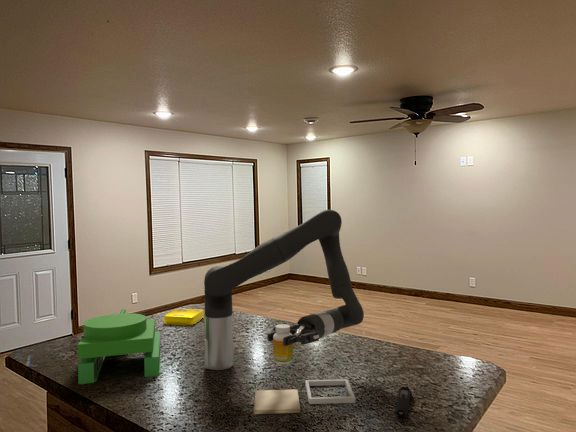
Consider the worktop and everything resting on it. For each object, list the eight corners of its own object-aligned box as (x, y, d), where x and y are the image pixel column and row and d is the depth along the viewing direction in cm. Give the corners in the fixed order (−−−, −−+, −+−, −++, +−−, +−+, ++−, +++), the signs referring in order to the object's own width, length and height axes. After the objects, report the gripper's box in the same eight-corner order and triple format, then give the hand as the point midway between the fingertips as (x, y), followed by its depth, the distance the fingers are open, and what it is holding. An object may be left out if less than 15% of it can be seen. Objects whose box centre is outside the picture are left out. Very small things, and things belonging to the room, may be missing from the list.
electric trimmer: (392, 420, 109) (392, 407, 109) (398, 394, 124) (398, 383, 124) (408, 422, 108) (407, 410, 108) (412, 395, 123) (412, 384, 122)
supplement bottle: (291, 365, 116) (290, 329, 116) (271, 364, 117) (270, 328, 117) (294, 358, 121) (294, 323, 121) (275, 357, 122) (275, 322, 122)
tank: (162, 344, 173) (161, 303, 172) (160, 376, 139) (159, 325, 139) (95, 350, 166) (95, 308, 166) (77, 385, 132) (76, 332, 132)
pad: (253, 413, 112) (253, 410, 112) (255, 393, 124) (255, 390, 124) (300, 412, 113) (300, 408, 113) (297, 392, 125) (297, 389, 125)
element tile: (162, 325, 199) (162, 315, 199) (176, 317, 214) (176, 307, 214) (193, 326, 197) (193, 316, 196) (205, 318, 211) (205, 308, 211)
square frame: (309, 404, 118) (309, 398, 117) (305, 384, 130) (305, 380, 130) (355, 402, 118) (355, 397, 118) (347, 383, 131) (347, 379, 131)
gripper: (297, 310, 134) (257, 321, 122) (335, 317, 124) (295, 331, 112) (297, 334, 134) (257, 347, 122) (335, 343, 125) (296, 359, 112)
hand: (276, 339), depth 117 cm, fingers closed on supplement bottle, 5 cm apart
